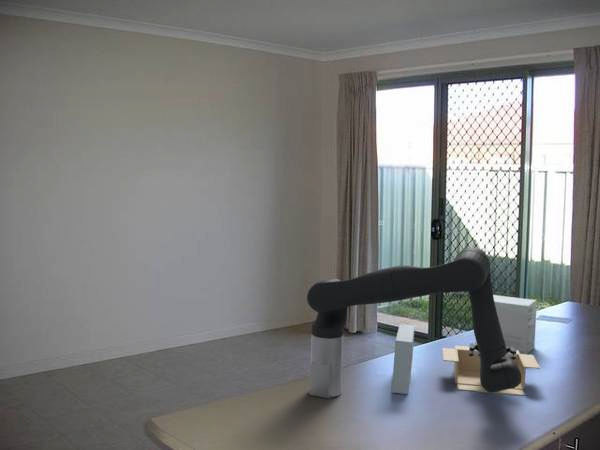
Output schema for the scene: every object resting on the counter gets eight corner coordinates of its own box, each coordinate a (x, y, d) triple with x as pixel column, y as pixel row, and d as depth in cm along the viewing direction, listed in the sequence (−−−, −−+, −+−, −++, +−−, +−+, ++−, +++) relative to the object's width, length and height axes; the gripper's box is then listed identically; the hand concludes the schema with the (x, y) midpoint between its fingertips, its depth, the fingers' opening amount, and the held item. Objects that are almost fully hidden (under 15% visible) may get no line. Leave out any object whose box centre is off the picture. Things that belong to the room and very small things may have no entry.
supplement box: (535, 347, 251) (538, 299, 249) (526, 356, 240) (529, 306, 238) (489, 339, 260) (491, 293, 259) (478, 347, 249) (480, 299, 247)
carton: (540, 397, 198) (542, 372, 197) (442, 388, 203) (443, 364, 203) (529, 373, 220) (531, 351, 219) (441, 366, 225) (442, 344, 224)
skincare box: (409, 395, 197) (412, 341, 195) (391, 393, 198) (393, 340, 196) (412, 373, 217) (414, 324, 216) (395, 371, 219) (397, 323, 217)
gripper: (521, 348, 194) (514, 334, 211) (469, 345, 197) (466, 331, 213) (519, 374, 195) (512, 358, 211) (468, 370, 198) (465, 354, 214)
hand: (489, 345), depth 212 cm, fingers closed on beverage can, 6 cm apart
